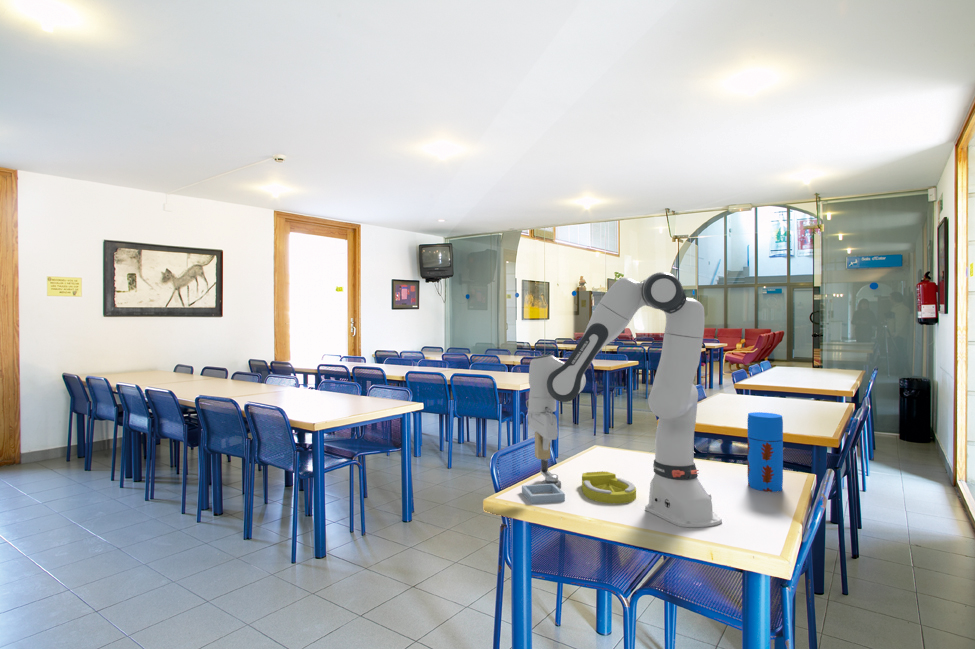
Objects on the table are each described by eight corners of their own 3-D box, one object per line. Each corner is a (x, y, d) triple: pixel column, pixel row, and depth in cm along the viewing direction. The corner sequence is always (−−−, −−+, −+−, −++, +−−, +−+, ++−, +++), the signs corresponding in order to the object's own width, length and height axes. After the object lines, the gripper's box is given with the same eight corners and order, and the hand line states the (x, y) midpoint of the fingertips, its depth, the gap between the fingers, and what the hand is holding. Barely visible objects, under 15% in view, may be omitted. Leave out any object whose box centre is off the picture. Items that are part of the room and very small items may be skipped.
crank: (559, 483, 181) (559, 466, 181) (547, 483, 180) (547, 467, 180) (549, 473, 192) (549, 458, 192) (537, 474, 191) (537, 459, 191)
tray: (564, 503, 168) (564, 493, 168) (531, 505, 166) (531, 496, 166) (553, 492, 179) (553, 483, 179) (521, 494, 177) (521, 485, 177)
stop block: (550, 458, 171) (550, 433, 171) (538, 459, 170) (538, 434, 170) (546, 455, 175) (546, 431, 175) (534, 456, 174) (534, 431, 174)
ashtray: (616, 484, 188) (616, 470, 188) (645, 504, 168) (645, 488, 168) (572, 487, 185) (572, 473, 185) (596, 508, 165) (596, 492, 165)
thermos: (750, 490, 180) (750, 416, 180) (745, 481, 190) (744, 411, 190) (786, 493, 177) (786, 418, 176) (779, 484, 187) (779, 413, 187)
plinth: (563, 491, 180) (563, 484, 180) (519, 494, 177) (519, 487, 177) (557, 485, 186) (557, 478, 186) (514, 488, 183) (514, 481, 183)
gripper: (562, 409, 163) (562, 455, 163) (542, 400, 183) (542, 440, 183) (542, 410, 162) (543, 456, 162) (524, 400, 182) (524, 441, 182)
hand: (542, 447), depth 172 cm, fingers closed on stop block, 4 cm apart
